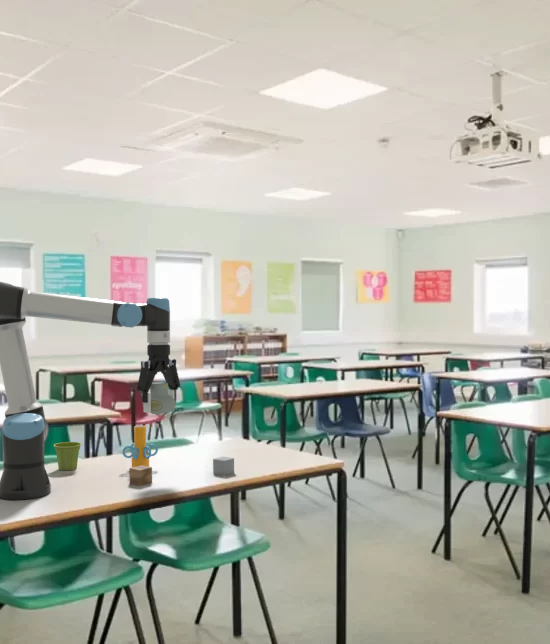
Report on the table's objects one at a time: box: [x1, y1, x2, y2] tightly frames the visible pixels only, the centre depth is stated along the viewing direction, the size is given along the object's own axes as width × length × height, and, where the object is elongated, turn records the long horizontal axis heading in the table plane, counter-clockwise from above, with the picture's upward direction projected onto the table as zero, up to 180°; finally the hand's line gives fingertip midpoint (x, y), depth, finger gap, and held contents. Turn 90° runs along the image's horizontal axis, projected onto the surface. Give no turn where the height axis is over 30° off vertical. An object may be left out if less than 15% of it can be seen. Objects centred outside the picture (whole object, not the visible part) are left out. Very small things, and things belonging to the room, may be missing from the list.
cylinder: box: [122, 425, 159, 468], centre depth 244 cm, size 12×10×15 cm
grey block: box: [212, 456, 235, 476], centre depth 237 cm, size 5×5×5 cm
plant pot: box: [53, 441, 82, 471], centre depth 246 cm, size 9×9×9 cm
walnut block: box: [128, 465, 153, 487], centre depth 224 cm, size 5×5×5 cm
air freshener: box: [142, 381, 176, 415], centre depth 235 cm, size 11×8×10 cm
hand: (159, 410), depth 235 cm, fingers closed on air freshener, 10 cm apart
